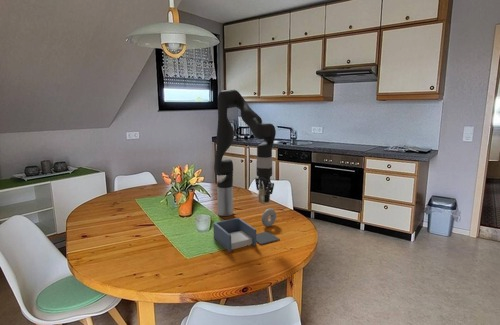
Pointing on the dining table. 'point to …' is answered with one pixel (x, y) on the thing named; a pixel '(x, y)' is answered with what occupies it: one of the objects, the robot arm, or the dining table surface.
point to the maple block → (262, 196)
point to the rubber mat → (265, 238)
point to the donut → (266, 215)
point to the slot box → (234, 233)
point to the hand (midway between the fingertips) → (264, 200)
